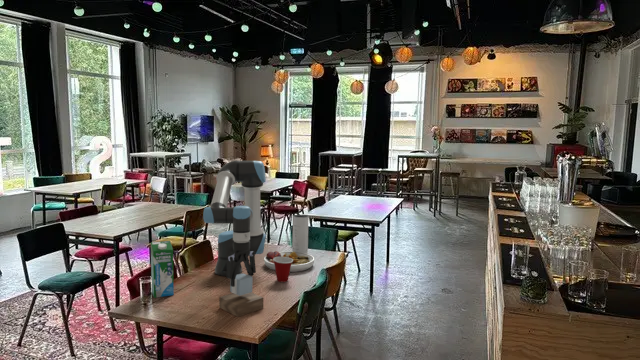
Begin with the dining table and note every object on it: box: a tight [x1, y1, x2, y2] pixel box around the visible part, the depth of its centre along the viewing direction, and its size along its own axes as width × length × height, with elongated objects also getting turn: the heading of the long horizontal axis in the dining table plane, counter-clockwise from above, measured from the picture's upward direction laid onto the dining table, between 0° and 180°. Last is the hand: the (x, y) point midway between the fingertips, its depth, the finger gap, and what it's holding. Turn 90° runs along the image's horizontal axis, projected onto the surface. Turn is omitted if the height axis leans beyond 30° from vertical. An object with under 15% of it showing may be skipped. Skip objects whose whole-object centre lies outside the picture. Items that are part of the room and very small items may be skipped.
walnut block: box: [218, 292, 264, 317], centre depth 200 cm, size 14×14×5 cm
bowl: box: [263, 250, 315, 273], centre depth 266 cm, size 30×30×8 cm
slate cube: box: [229, 272, 253, 296], centre depth 199 cm, size 7×7×7 cm
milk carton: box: [150, 240, 175, 299], centre depth 215 cm, size 9×9×25 cm
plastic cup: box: [273, 257, 293, 283], centre depth 238 cm, size 11×11×12 cm
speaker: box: [291, 214, 310, 254], centre depth 292 cm, size 11×10×26 cm
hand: (241, 291), depth 199 cm, fingers closed on slate cube, 7 cm apart
